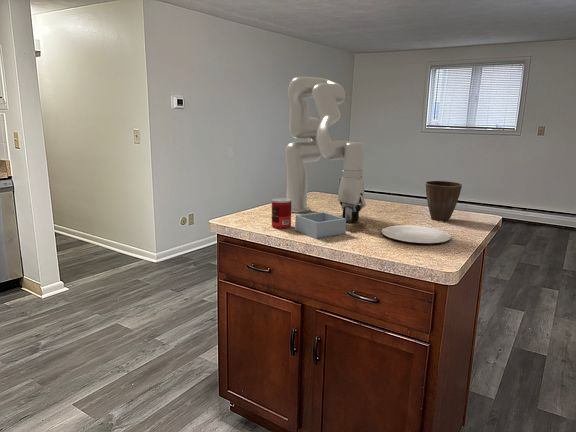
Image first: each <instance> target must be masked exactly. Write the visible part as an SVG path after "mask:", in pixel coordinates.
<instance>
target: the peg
mask: <svg viewBox="0 0 576 432" xmlns="http://www.w3.org/2000/svg"><path fill="white" fill-rule="evenodd" d="M344 206H345V219H346V223H348V224H353V223H356V221H355V222H352V212H354V210H353V204H348V203H345V205H344ZM356 208H357V205H356Z"/></svg>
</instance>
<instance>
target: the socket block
mask: <svg viewBox="0 0 576 432" xmlns="http://www.w3.org/2000/svg"><path fill="white" fill-rule="evenodd" d="M362 230H367V222H365V221H362V220H358V221H356V223H353V224H348V223H346V232H355V231H362Z"/></svg>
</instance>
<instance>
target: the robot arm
mask: <svg viewBox="0 0 576 432" xmlns="http://www.w3.org/2000/svg"><path fill="white" fill-rule="evenodd" d="M287 95H288V96H287V97H288V102H289V121H288V122H289V128H288V131H289V135H290V137H291V138H293V139H295V140H296V139H297V140H299V139H303V140H305V139H308V141H293V142H290V143H288V144H287V145H286V147H285V150H284V155H285V161H286V198H289V199H291V201H292V202H291V213H296V214H297V213H300V214H301V213H307V212H310V210H311V207H310V206H308V180H309V179H308V176H309V175H308V169H307V167H306V165H305V163H315V162H318V161H320V160H321V158H322V157H323V159H325V160H328V161H335V160H343V165H342V167H343V168H342V169H343V170H342V171H341V173H342V176H341V177H340V182H339V185H338V195H337V196H338V197H337V201H338V203H339V204H340V206H341V209H342V218H345V206H344V205H345V203H348V204H353V210H354V212H352V222H355V221H358V220H359V219H360V217H359V215H360V212H361V210H362V209H363V208H365V207H366V206H367V203H366V201H365V182H364V181H365V180H364V178H363V175H364V172H363V170H364V154H365V144H364V143H363V142H359V141H351V140H343V139H342V140H336V139H335V140H331V137H330V133H329V127H330V126H332V125H334V124H335V123H338V121H339V120H340V119H341V117H342V116H341V112H340V109H339V106H338V105H341V104H342V103H343V102H344V101H345V99H346V91H345V89H344V87H343V86H342V85H341V84H340V83H338V82H335V81H332V80H330V79H327V78H323V77H314V76H297V77H294V78H293V79H292V80H291V81H290V83H289V85H288V88H287ZM306 98H311V99H313V102H314V103H313V104H314V105H315V109H316V112H317V114H318V117H319V118H318V117H310V116H309V114H310V113H309V112H310V108H309V107H310V106H309V104H308V101H307V100H306ZM356 205H357V208H356ZM359 221H360V220H359Z"/></svg>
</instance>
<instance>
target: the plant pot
mask: <svg viewBox="0 0 576 432" xmlns="http://www.w3.org/2000/svg"><path fill="white" fill-rule="evenodd" d="M462 187H463V184H462V183H460V182H454V181H446V180H431V181H426V182H425V194H426V202H427V206H428V212H429V214H430V218H431V220H433V221H436V222H437V221H438V222H449V221H450V219H451V218H452V215H453V213H454V211H455V208H456V207H457V203H458V201H459V198H460V195H461V191H462Z"/></svg>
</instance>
